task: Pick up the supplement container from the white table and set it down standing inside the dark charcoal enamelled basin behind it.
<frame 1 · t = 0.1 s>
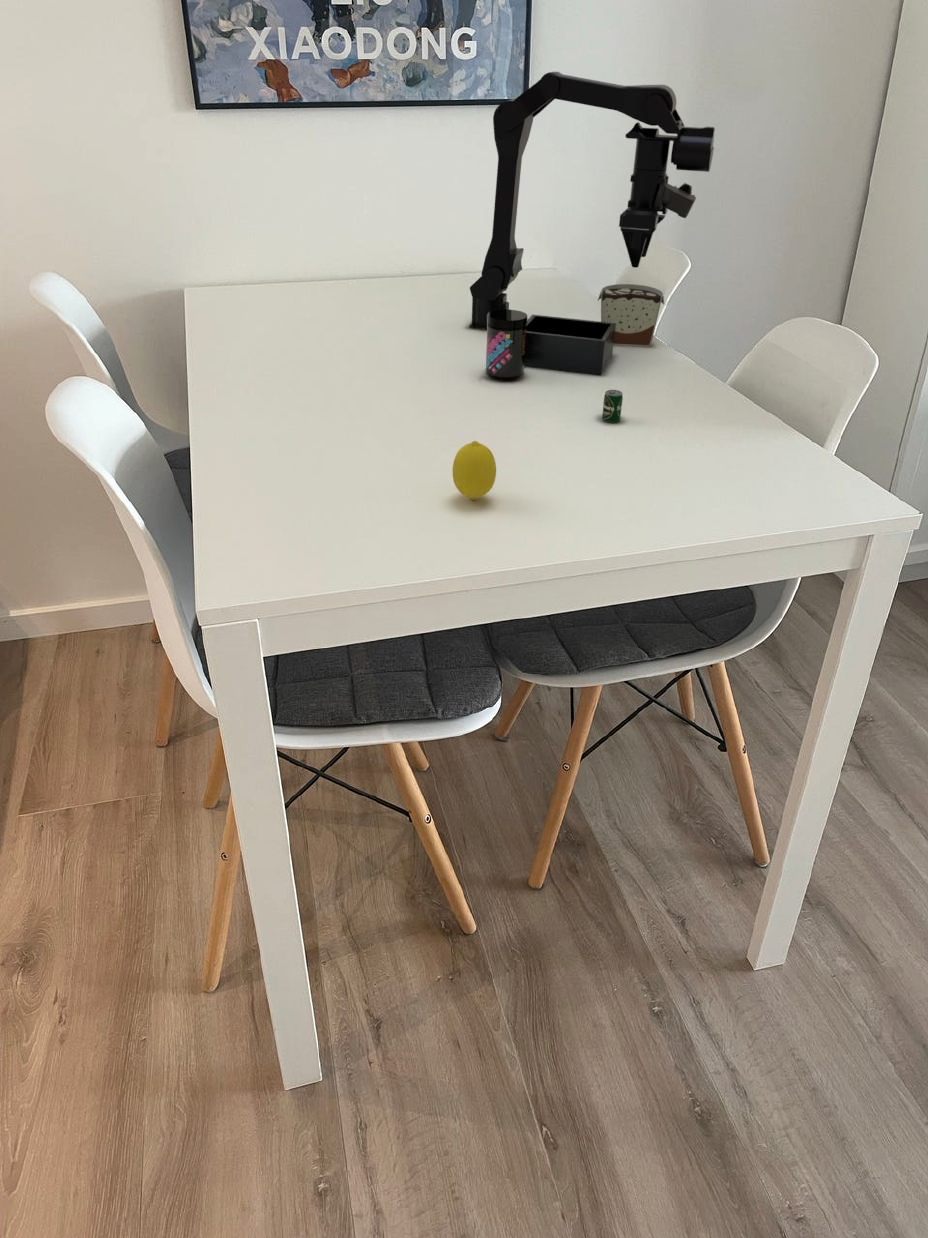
hand: (638, 261, 168), 15 cm above the table, tool pointing down, fingers open, 9 cm apart
supplement container: (504, 376, 158), on the table
beer can: (610, 420, 142), on the table
basin: (564, 360, 166), on the table
lemon: (473, 501, 118), on the table
food container: (624, 341, 177), on the table
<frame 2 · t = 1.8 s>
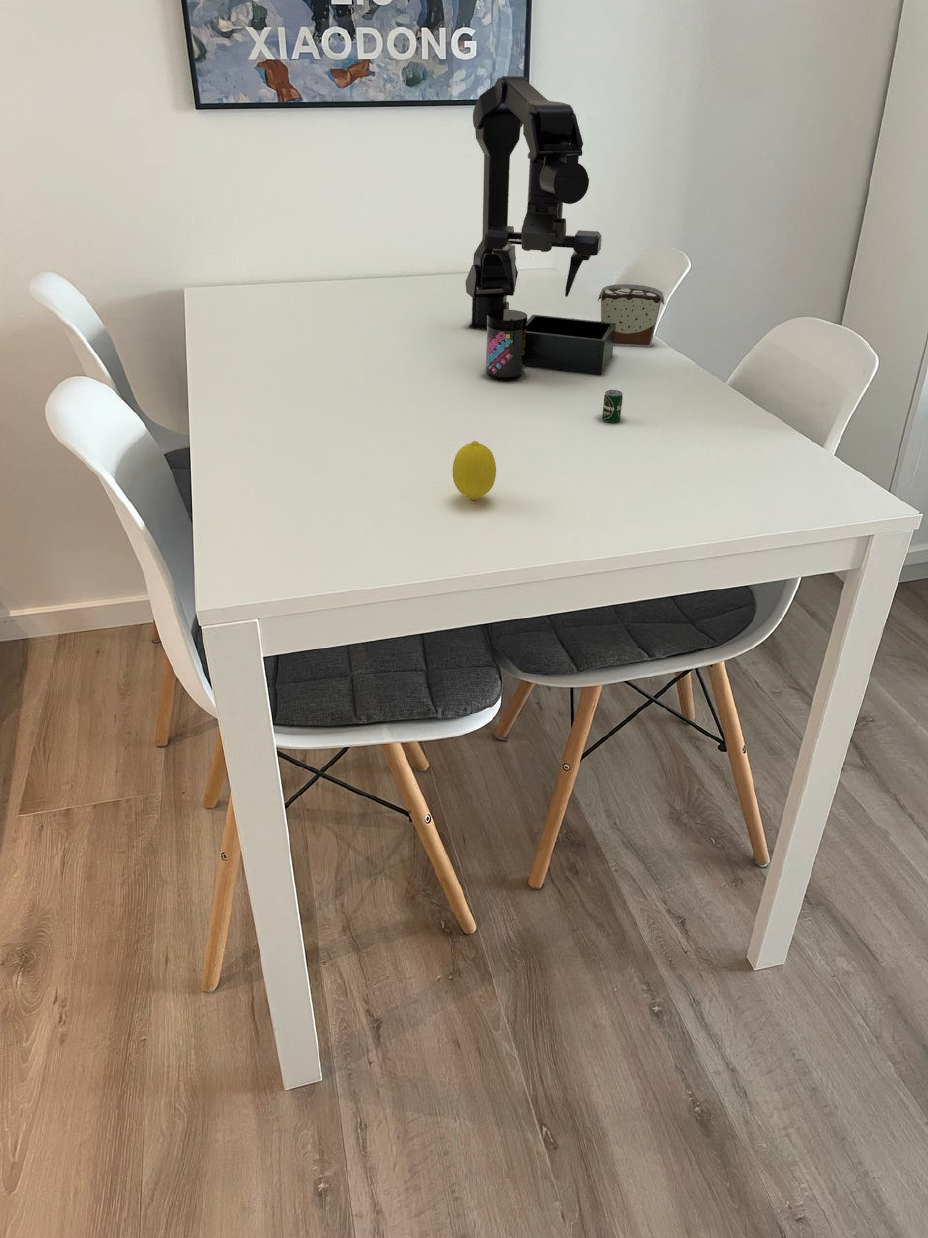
hand: (539, 293, 155), 13 cm above the table, tool pointing down, fingers open, 9 cm apart
nothing on the table moved.
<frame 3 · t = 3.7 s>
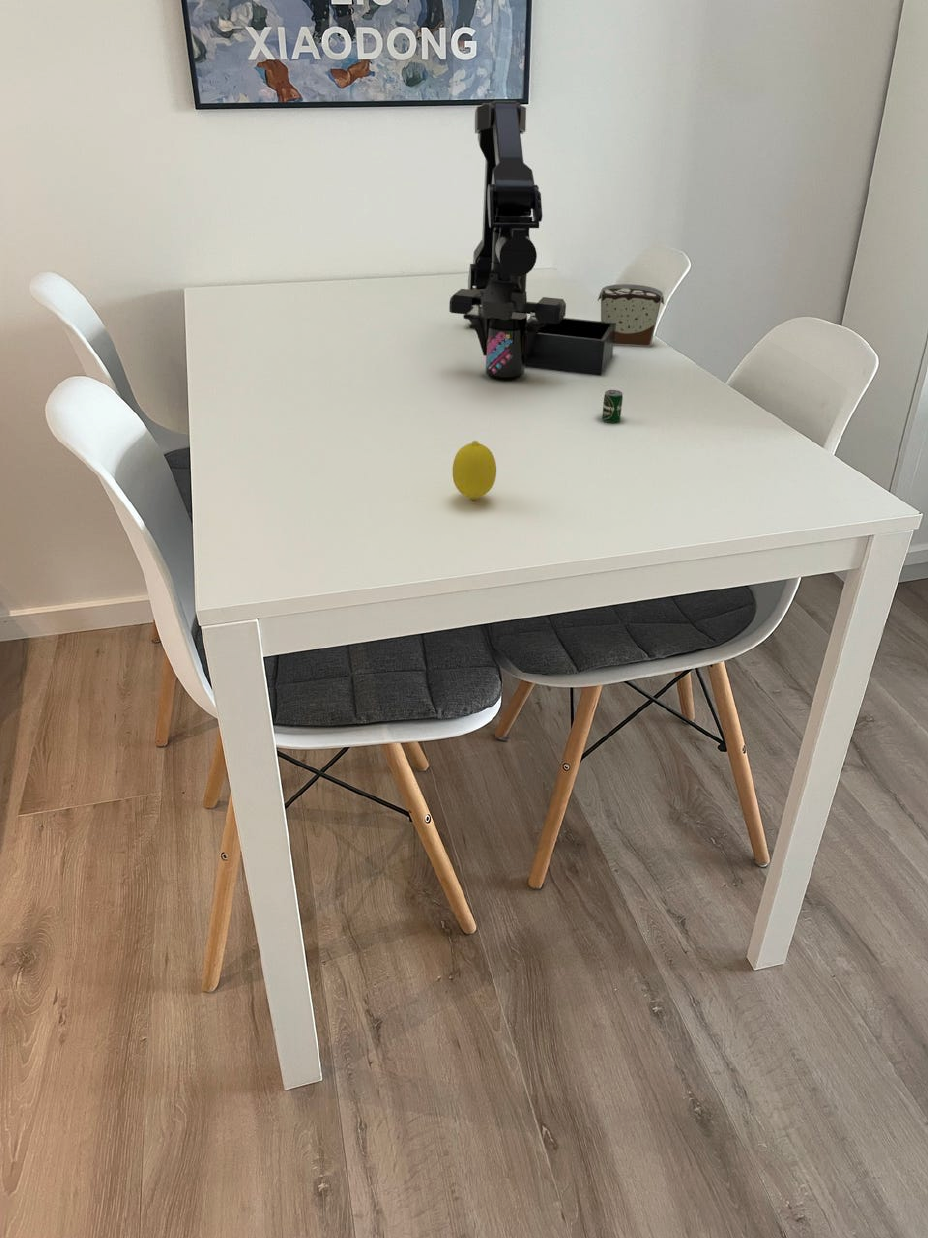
hand: (505, 357, 156), 3 cm above the table, tool pointing down, fingers closed on supplement container, 7 cm apart
supplement container: (504, 376, 158), on the table, touching gripper
everything else where it was.
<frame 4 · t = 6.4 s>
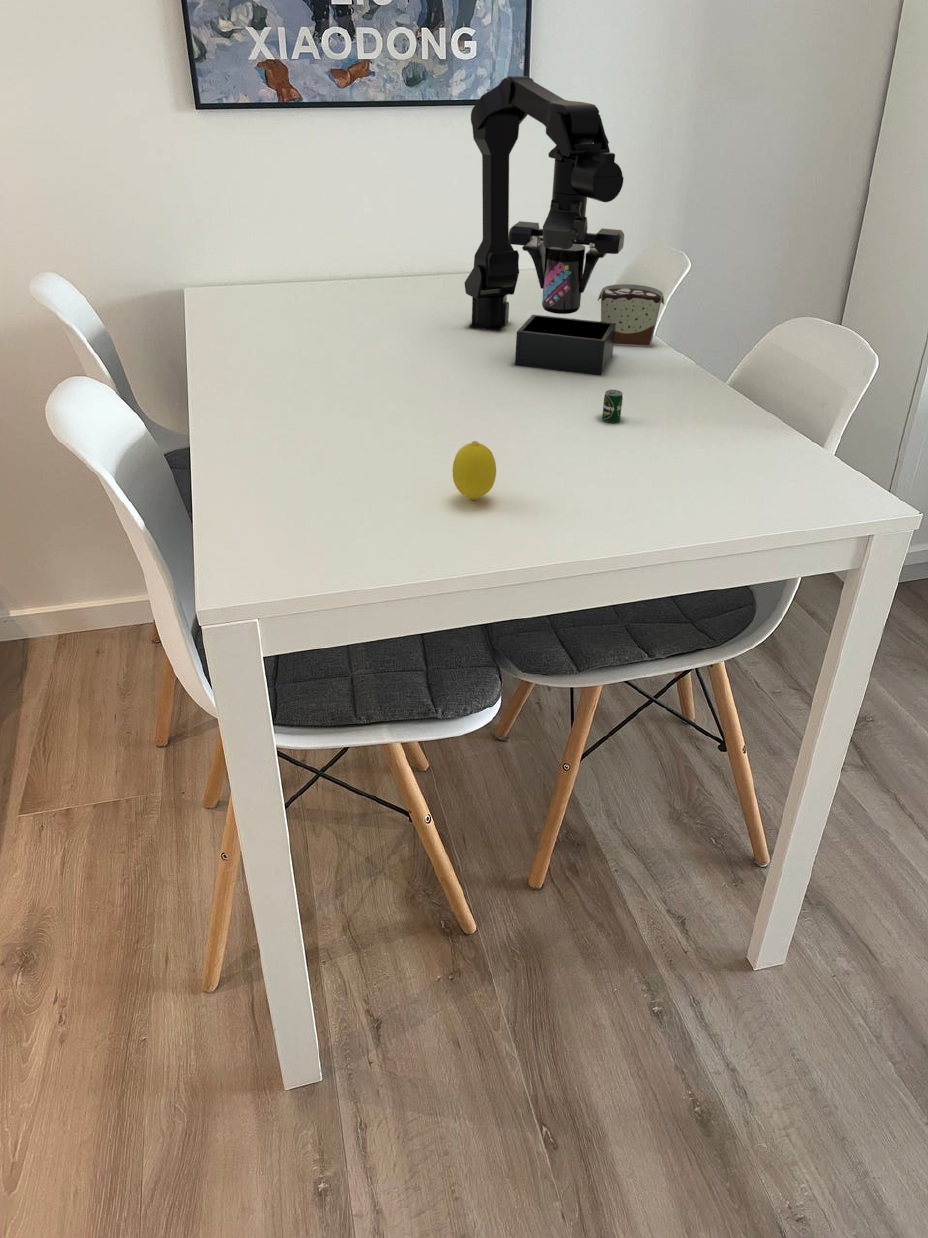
hand: (562, 290, 158), 13 cm above the table, tool pointing down, fingers closed on supplement container, 7 cm apart
supplement container: (560, 310, 160), point 9 cm above the table, touching gripper
everything else where it was.
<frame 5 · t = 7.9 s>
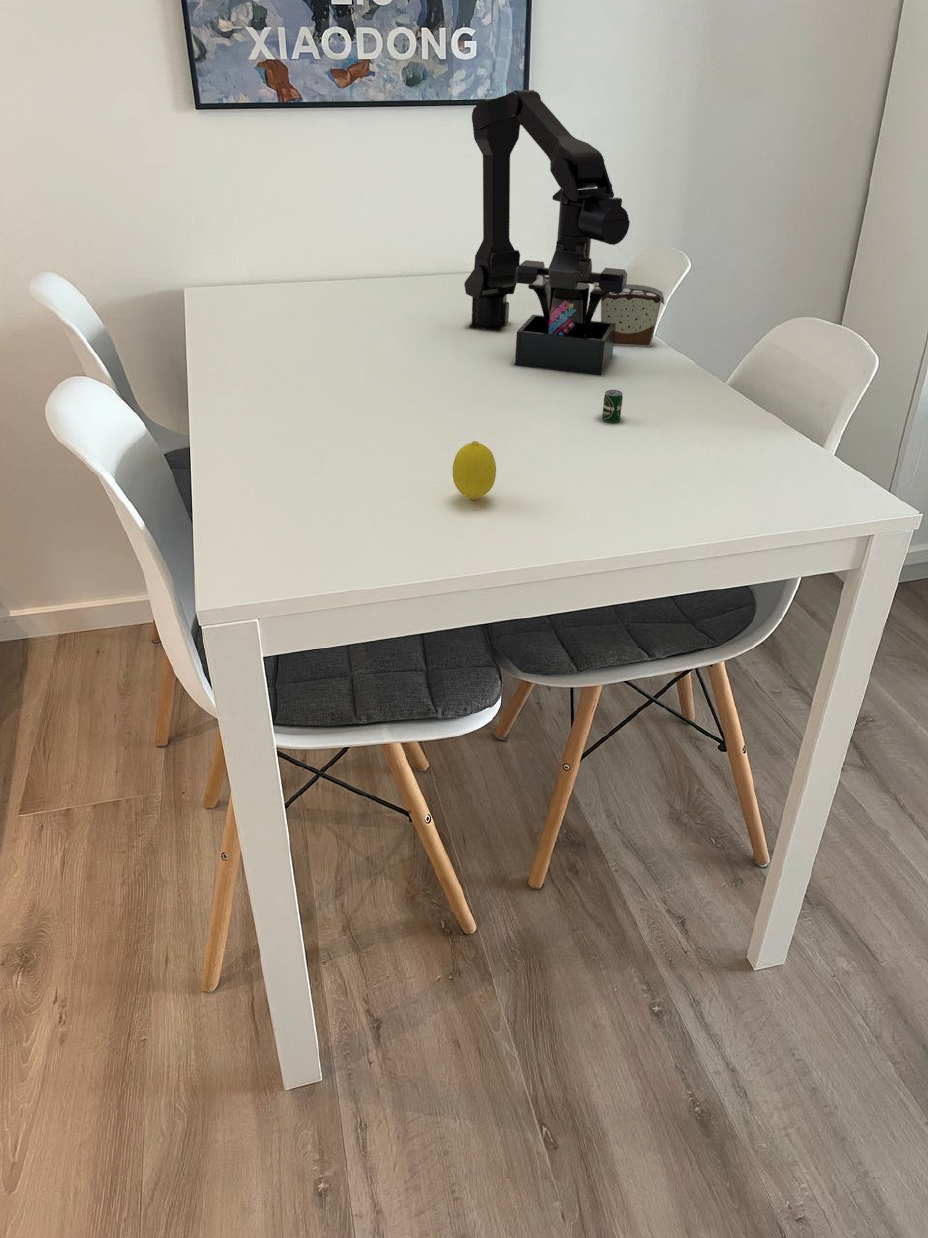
hand: (566, 326, 163), 6 cm above the table, tool pointing down, fingers closed on supplement container, 7 cm apart
supplement container: (565, 345, 165), point 3 cm above the table, touching gripper
everything else where it was.
when the fingers open (4 cm above the table, at t = 9.1 s): supplement container stays where it is, resting on basin.
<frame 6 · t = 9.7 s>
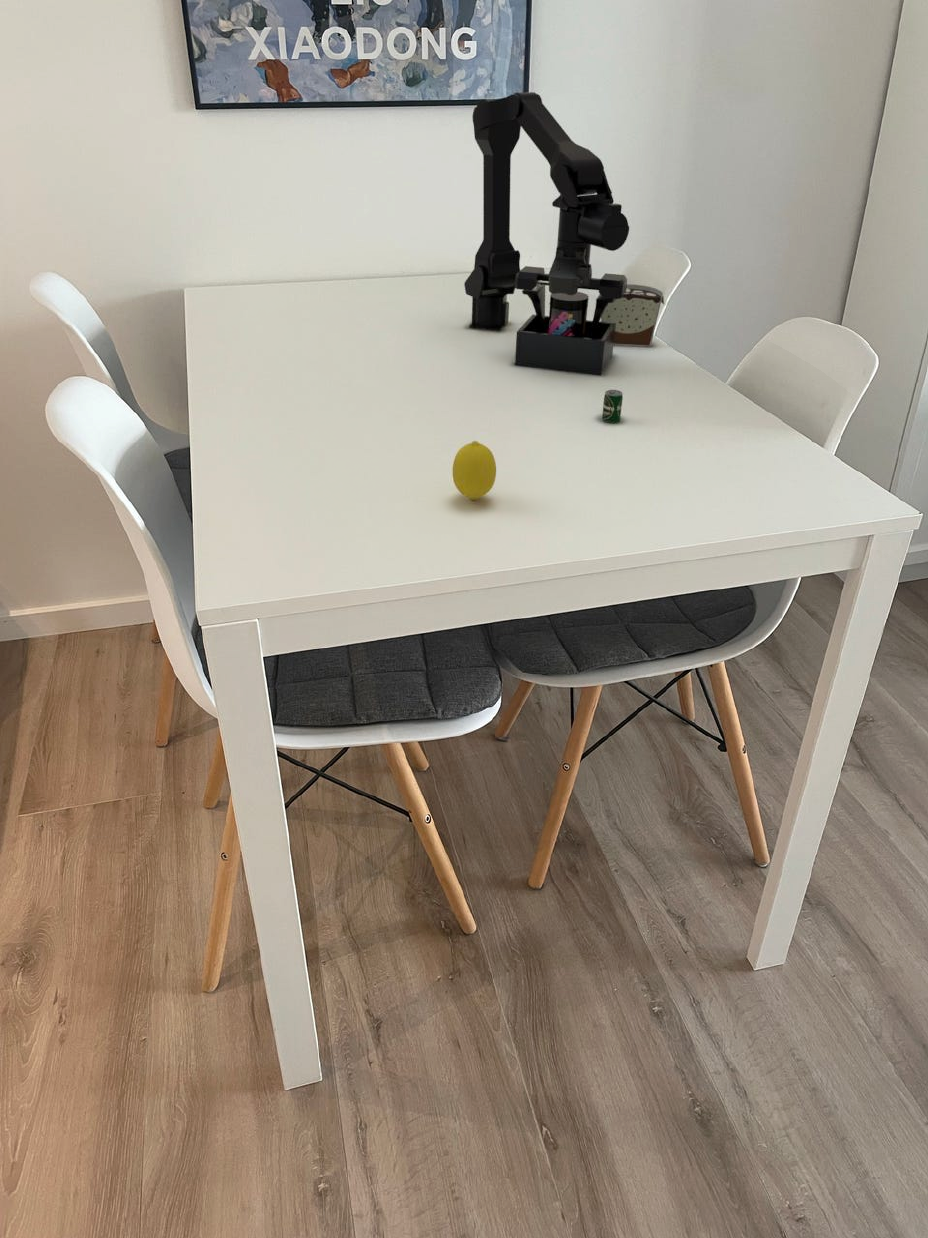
hand: (567, 331, 163), 5 cm above the table, tool pointing down, fingers open, 9 cm apart
supplement container: (564, 355, 166), point 1 cm above the table, touching basin
everything else where it was.
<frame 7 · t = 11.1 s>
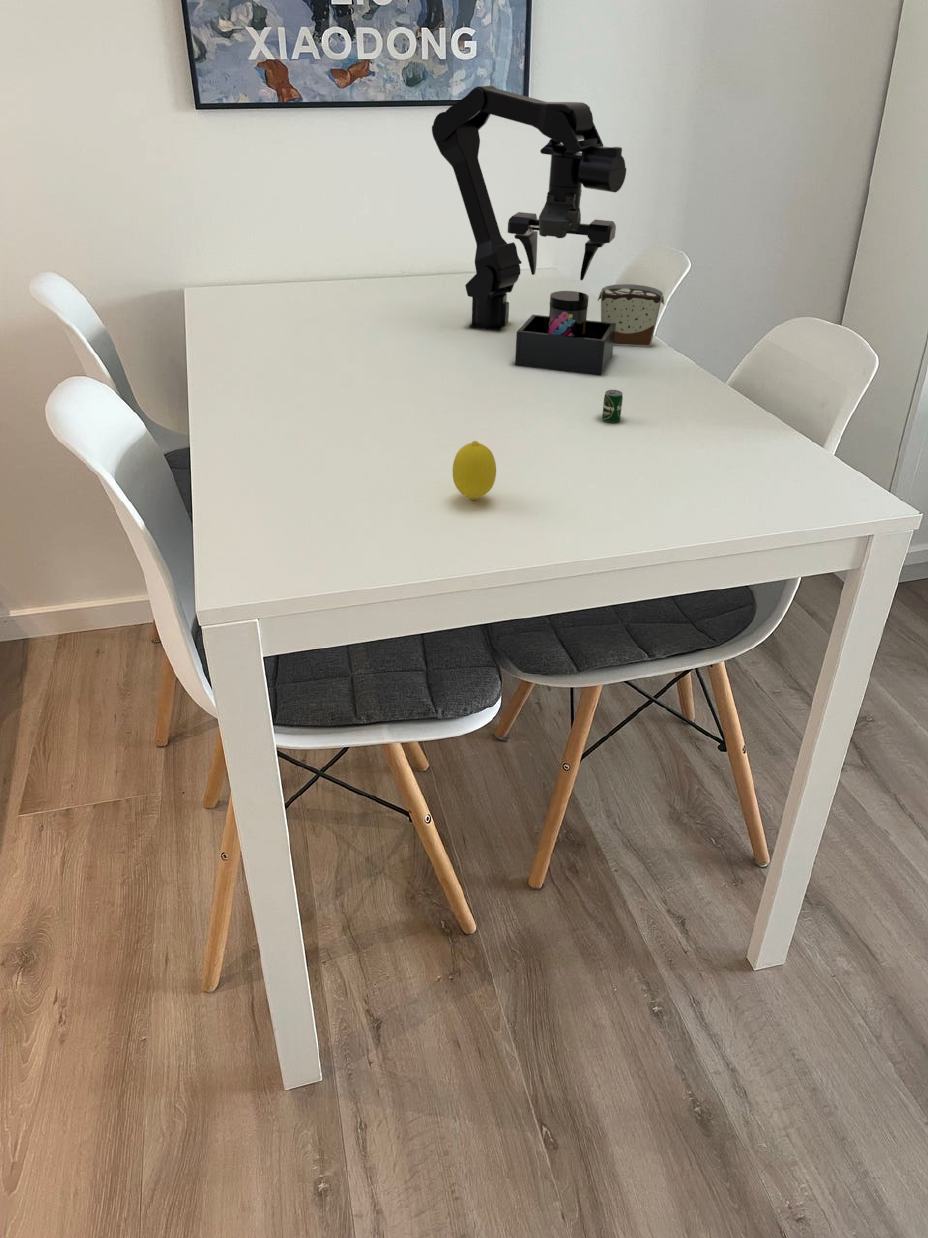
hand: (557, 277, 169), 12 cm above the table, tool pointing down, fingers open, 9 cm apart
nothing on the table moved.
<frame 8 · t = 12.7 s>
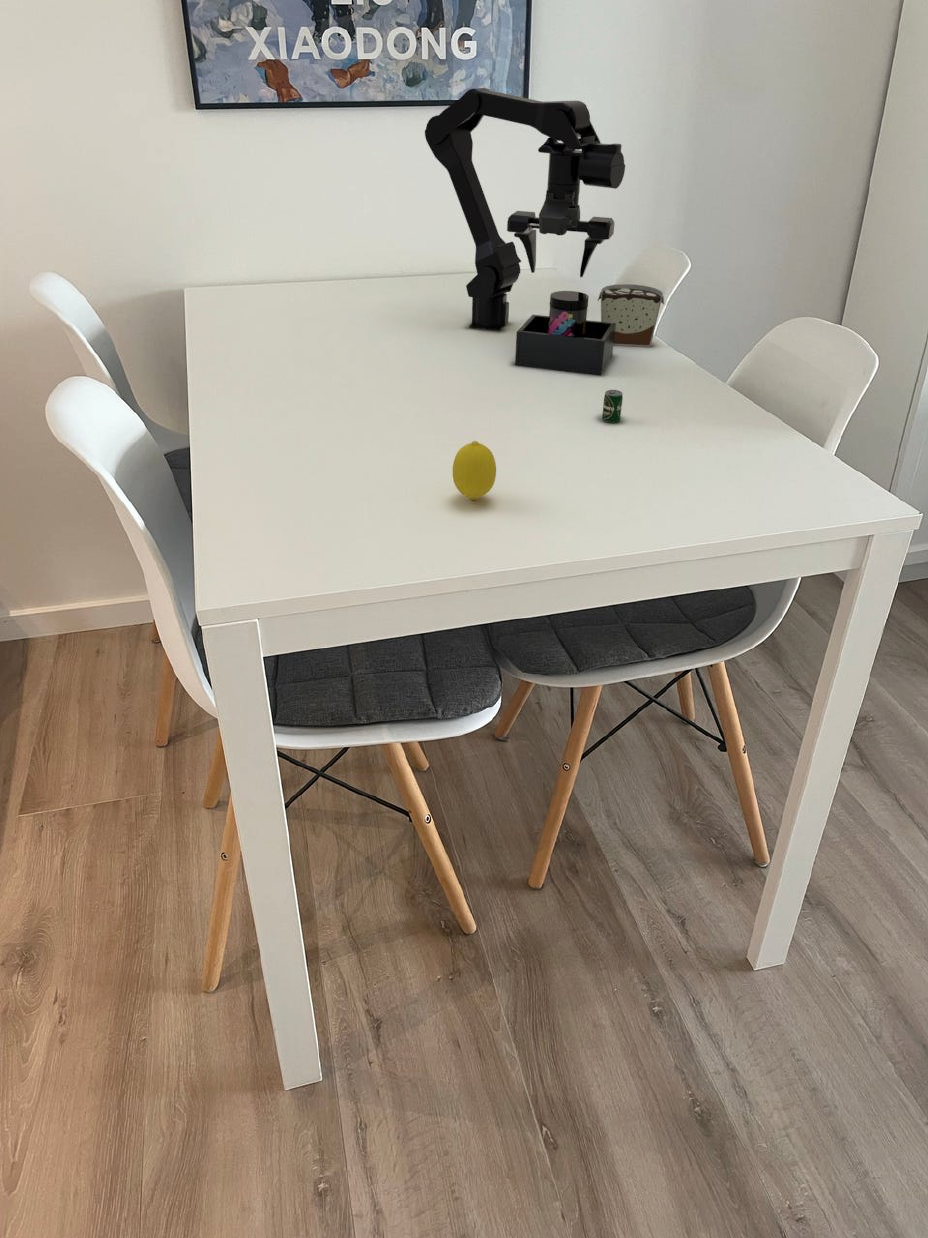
hand: (557, 274, 170), 12 cm above the table, tool pointing down, fingers open, 9 cm apart
nothing on the table moved.
at the end: supplement container inside the target area in the basin (0.1 cm from its centre), point 0.8 cm above the basin's base; supplement container tilted 0° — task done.
